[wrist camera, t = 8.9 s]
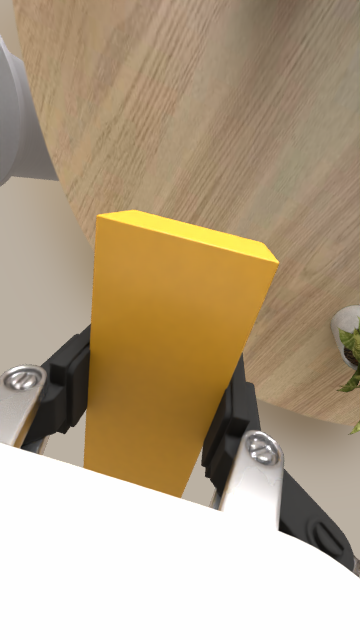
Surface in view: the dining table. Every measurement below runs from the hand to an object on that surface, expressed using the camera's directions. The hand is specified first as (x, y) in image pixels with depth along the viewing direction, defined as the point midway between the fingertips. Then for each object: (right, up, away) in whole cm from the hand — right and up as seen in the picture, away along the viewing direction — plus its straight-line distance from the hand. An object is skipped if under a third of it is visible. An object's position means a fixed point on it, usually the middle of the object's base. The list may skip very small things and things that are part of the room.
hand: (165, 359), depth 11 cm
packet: (0, 0, 0) cm, 0 cm away
